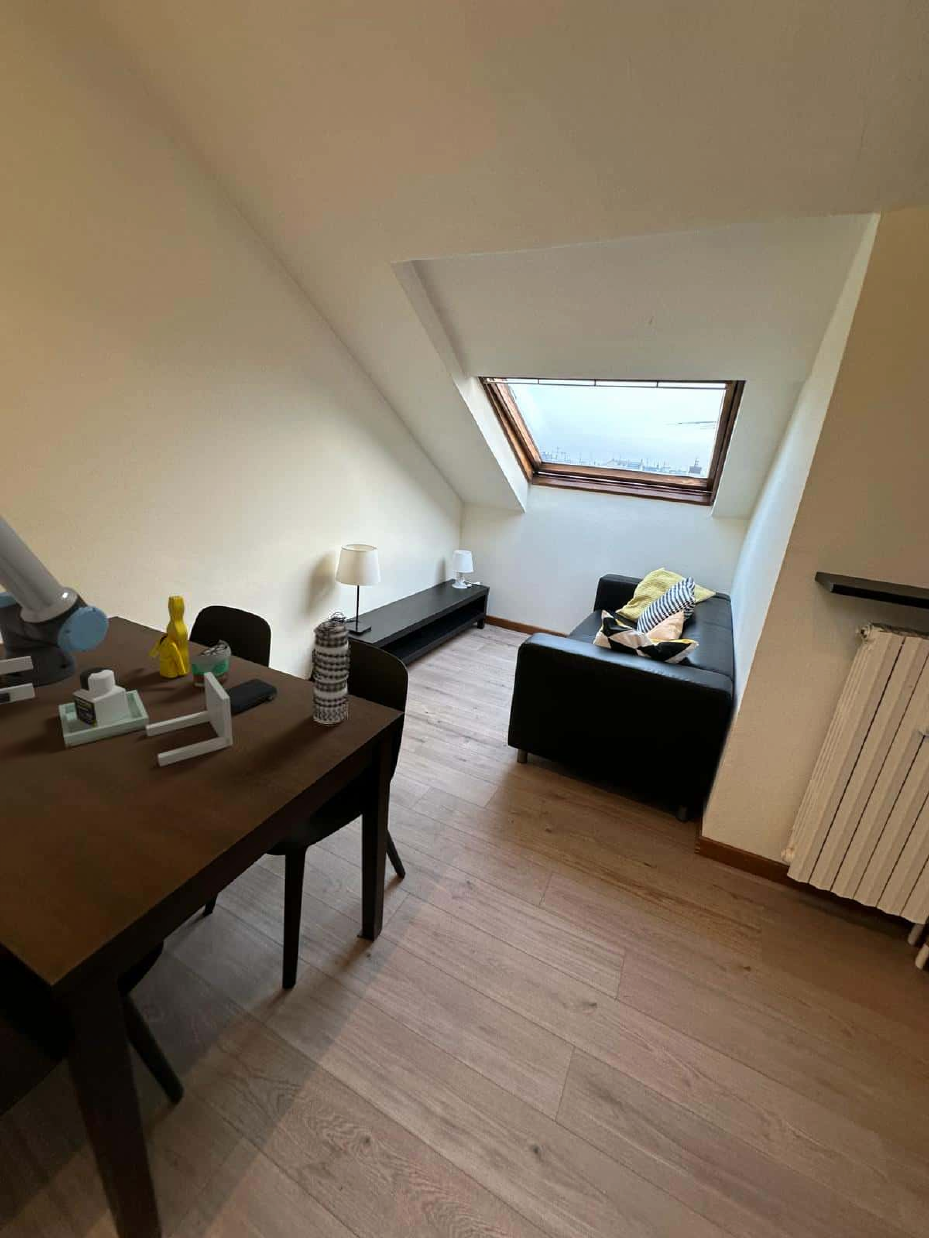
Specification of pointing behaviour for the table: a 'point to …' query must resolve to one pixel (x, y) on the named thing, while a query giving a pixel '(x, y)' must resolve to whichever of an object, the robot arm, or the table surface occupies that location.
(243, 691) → the carrying case or bag
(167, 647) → the figure statuette
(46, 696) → the table surface
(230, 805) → the table surface
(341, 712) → the decorative candle
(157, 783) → the table surface
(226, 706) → the bay
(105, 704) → the medicine bottle
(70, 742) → the tray
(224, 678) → the food container
